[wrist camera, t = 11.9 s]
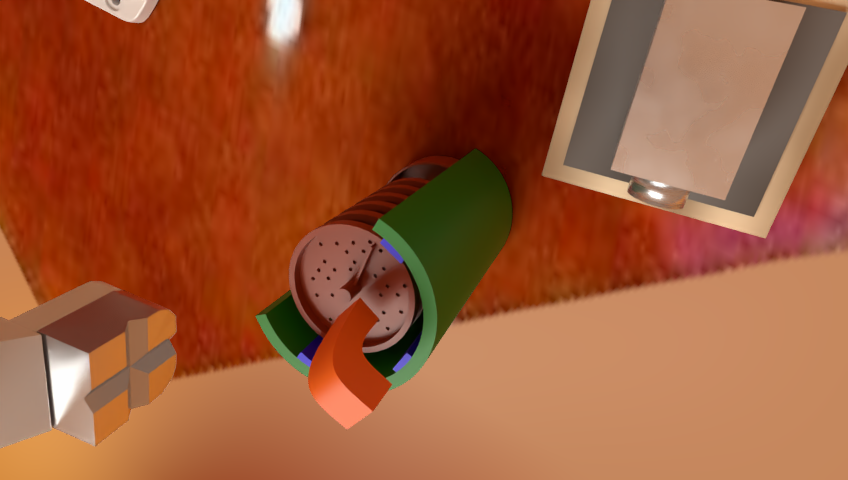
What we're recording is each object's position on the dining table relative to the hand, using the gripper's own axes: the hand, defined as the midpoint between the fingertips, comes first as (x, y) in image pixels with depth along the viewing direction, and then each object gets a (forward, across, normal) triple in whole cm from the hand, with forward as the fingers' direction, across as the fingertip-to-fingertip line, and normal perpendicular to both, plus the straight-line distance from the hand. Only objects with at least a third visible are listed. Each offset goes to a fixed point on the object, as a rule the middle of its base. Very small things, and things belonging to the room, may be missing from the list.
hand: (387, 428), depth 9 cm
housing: (+26, -5, -4) cm, 27 cm away
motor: (+31, +7, +9) cm, 33 cm away
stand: (+31, -5, -3) cm, 32 cm away
